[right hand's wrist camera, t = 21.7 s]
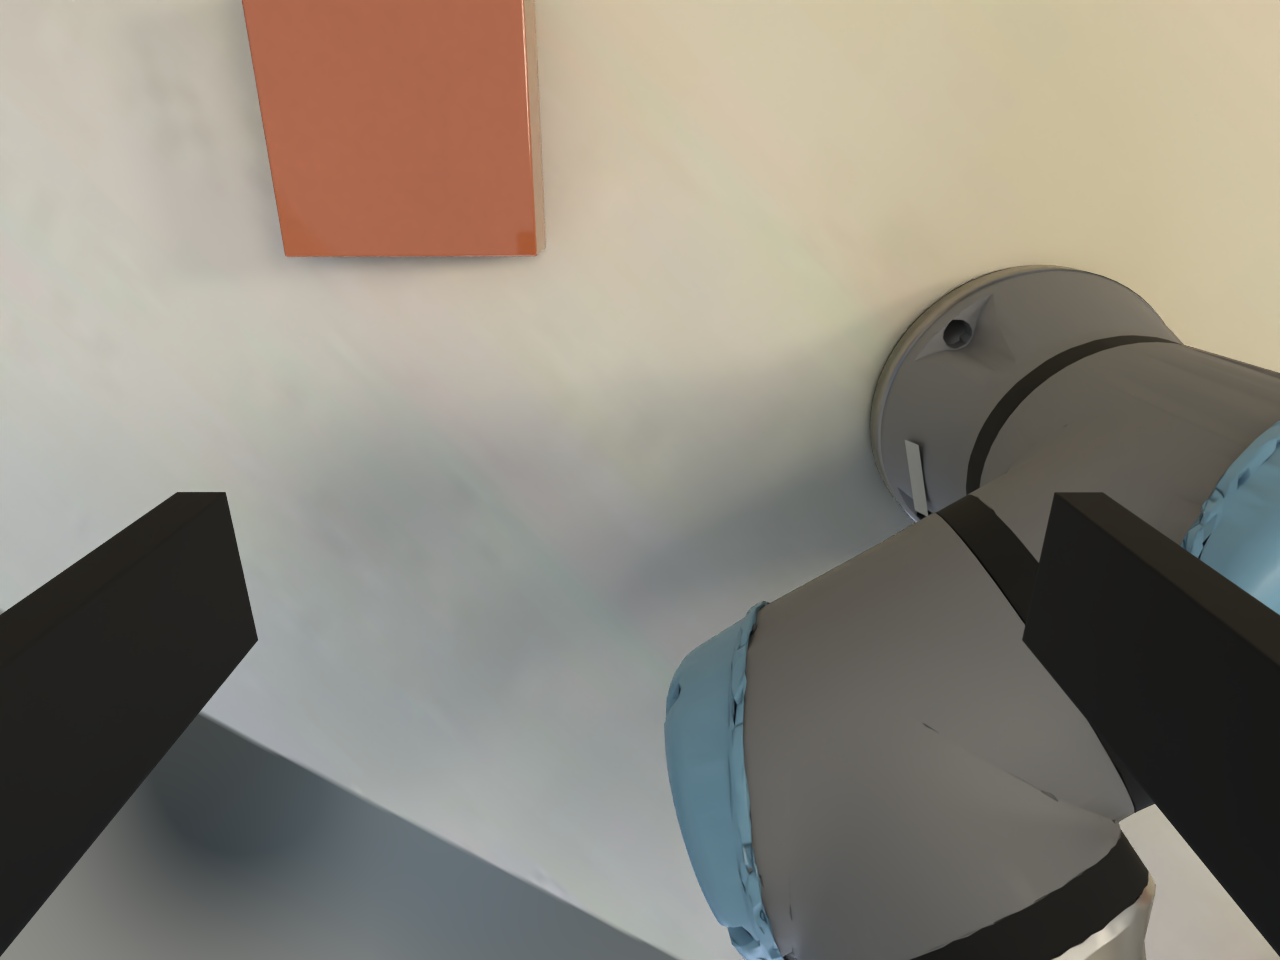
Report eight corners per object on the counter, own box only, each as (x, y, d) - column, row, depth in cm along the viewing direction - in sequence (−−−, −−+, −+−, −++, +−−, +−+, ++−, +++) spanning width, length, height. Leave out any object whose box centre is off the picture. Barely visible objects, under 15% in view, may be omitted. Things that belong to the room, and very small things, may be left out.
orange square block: (290, -12, 34) (233, -42, 29) (538, -13, 34) (521, -43, 29) (328, 246, 38) (284, 256, 33) (549, 245, 38) (536, 256, 33)
